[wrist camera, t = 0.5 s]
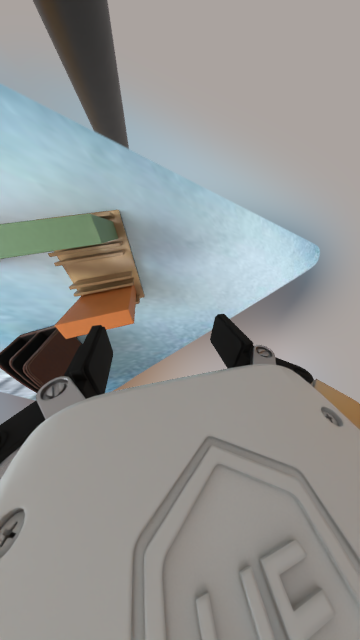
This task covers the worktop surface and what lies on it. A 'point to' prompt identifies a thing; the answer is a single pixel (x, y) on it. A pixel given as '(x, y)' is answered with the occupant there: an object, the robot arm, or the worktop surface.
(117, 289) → the orange book
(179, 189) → the worktop surface
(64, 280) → the worktop surface
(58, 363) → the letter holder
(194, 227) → the worktop surface
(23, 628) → the robot arm
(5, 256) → the green book
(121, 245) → the book rack
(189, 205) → the worktop surface
